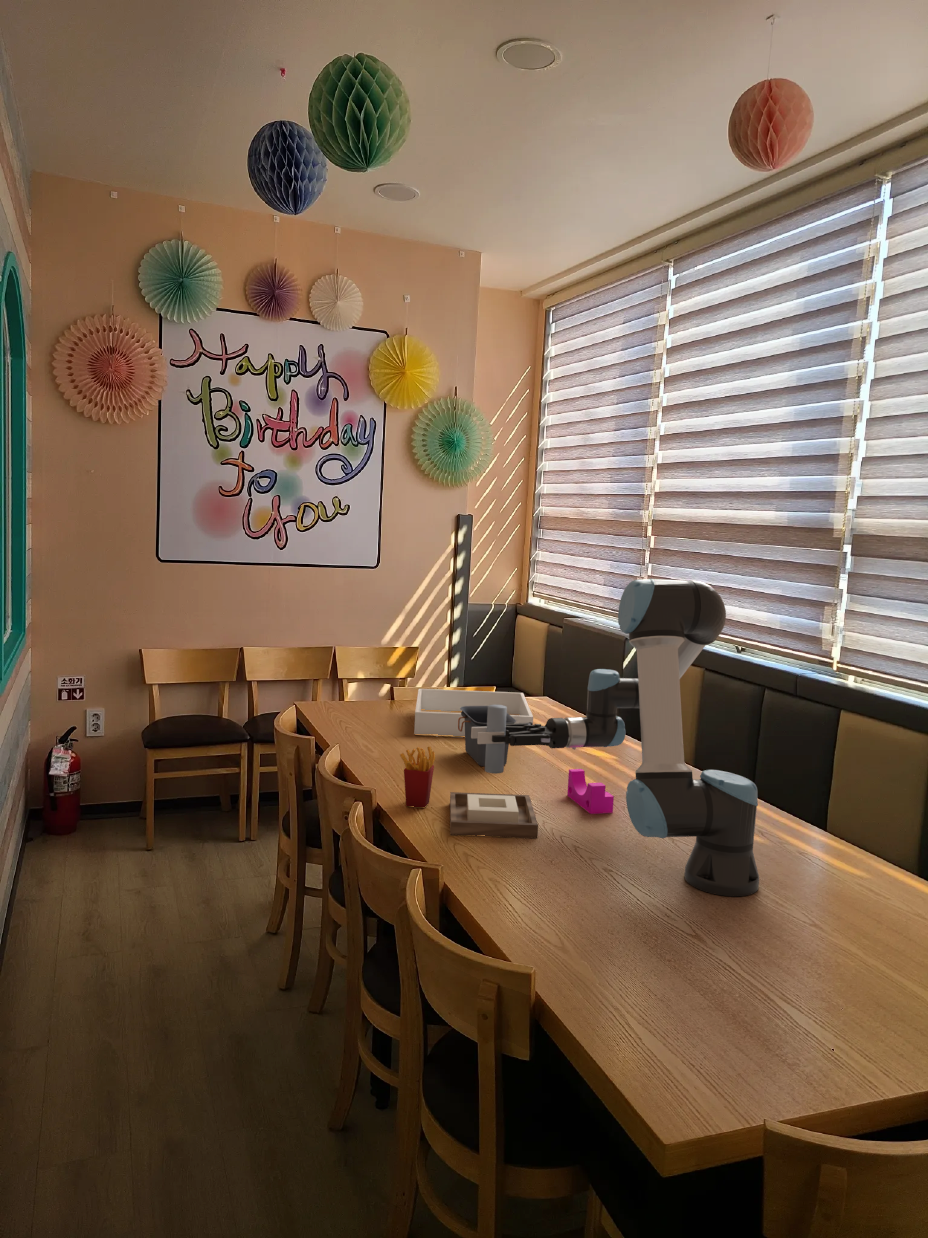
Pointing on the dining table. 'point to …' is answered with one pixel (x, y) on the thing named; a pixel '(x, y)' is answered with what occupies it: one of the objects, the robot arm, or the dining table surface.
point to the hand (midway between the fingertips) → (475, 735)
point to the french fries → (418, 777)
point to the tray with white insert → (462, 826)
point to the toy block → (589, 793)
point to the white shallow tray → (453, 702)
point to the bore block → (492, 808)
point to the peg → (495, 751)
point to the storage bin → (478, 718)
